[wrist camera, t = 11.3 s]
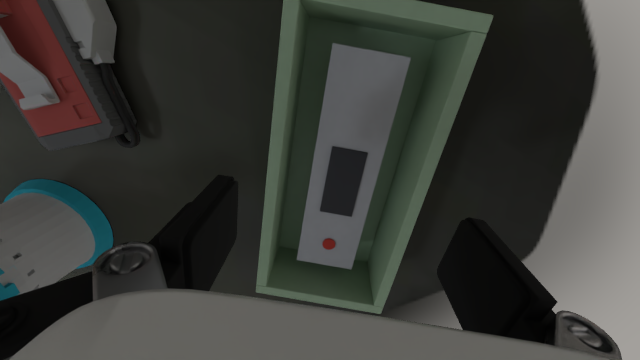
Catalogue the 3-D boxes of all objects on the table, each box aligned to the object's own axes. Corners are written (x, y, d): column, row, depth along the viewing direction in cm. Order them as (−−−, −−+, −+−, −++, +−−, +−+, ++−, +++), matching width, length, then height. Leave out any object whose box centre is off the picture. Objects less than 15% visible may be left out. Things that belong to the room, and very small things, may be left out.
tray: (300, 1, 17) (285, -25, 12) (449, 30, 17) (494, 15, 12) (271, 248, 26) (255, 292, 21) (372, 266, 26) (380, 314, 21)
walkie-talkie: (172, 136, 22) (15, -223, 14) (134, 152, 18) (-117, -340, 10) (82, 155, 23) (-108, -165, 15) (27, 175, 19) (-269, -249, 11)
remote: (333, 46, 18) (332, 42, 15) (399, 58, 18) (412, 57, 15) (301, 236, 24) (296, 261, 21) (349, 245, 24) (351, 271, 21)
